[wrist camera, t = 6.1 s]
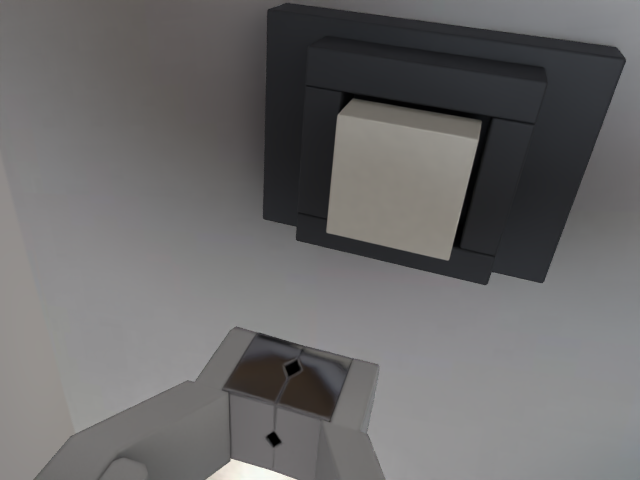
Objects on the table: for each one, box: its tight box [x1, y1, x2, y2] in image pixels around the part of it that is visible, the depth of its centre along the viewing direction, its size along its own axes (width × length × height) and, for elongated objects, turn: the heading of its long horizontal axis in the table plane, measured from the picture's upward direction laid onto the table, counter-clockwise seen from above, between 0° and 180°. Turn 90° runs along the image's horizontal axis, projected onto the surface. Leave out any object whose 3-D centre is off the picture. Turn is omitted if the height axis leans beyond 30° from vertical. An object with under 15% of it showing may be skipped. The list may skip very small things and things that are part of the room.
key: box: [326, 98, 482, 260], centre depth 17 cm, size 4×4×2 cm
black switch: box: [263, 3, 626, 285], centre depth 18 cm, size 11×8×4 cm
